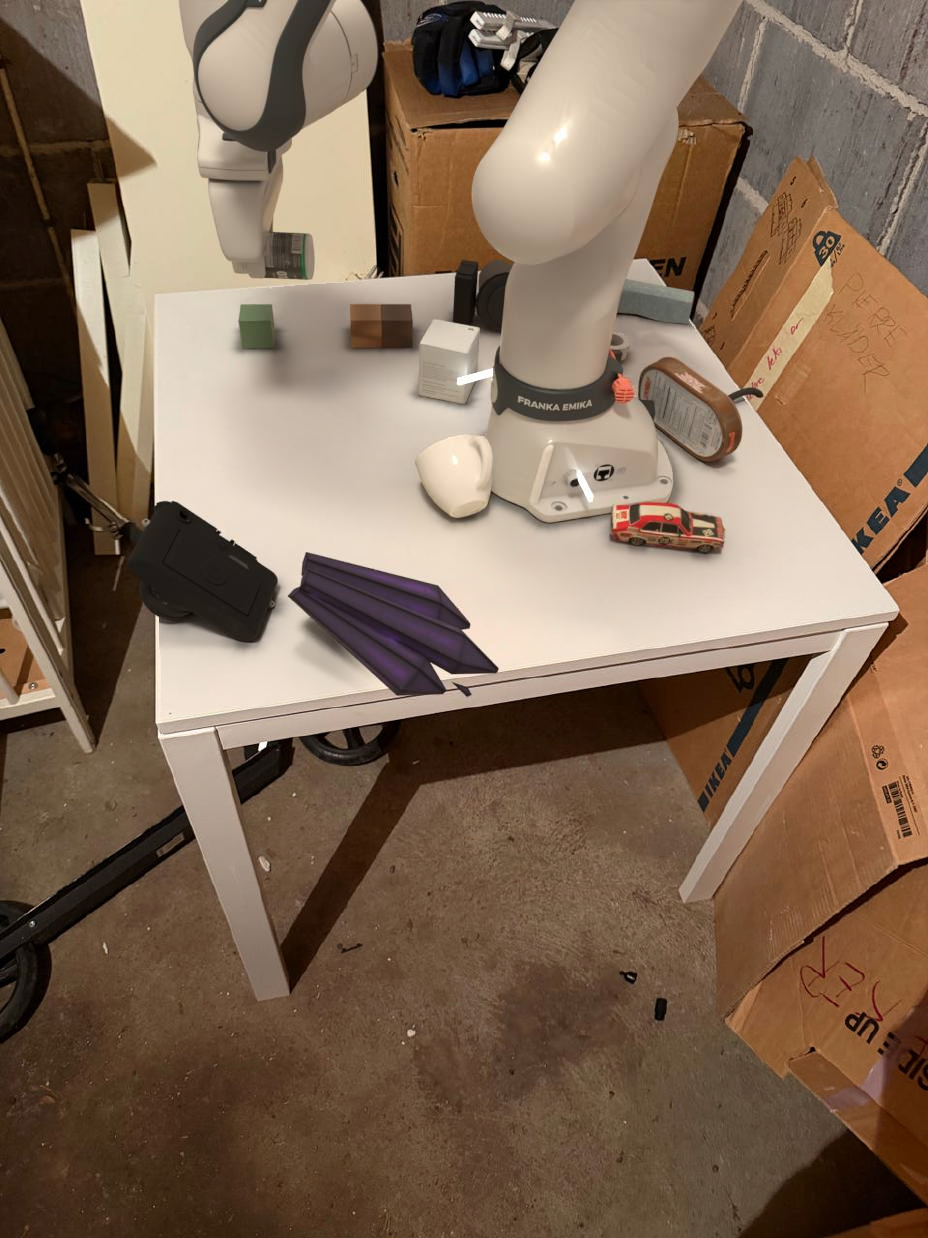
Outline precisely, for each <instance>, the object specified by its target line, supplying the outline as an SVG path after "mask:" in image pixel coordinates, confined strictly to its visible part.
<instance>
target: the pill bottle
mask: <svg viewBox="0 0 928 1238" xmlns="http://www.w3.org/2000/svg"><path fill="white" fill-rule="evenodd" d="M263 252H264V256H266V266H267V271H266V275H265V277H264V278H263V279H274V280H275V279H278V280H279V279H280V280H299V281H301V280H302V281H303V280H304V281H310V280H312V279H313V278H314V274H315V262H316V261H315V260H316V259H315V246H314V238H313V236H312V234H311V233H309V232H308V233H307V232H285V231H284V232H283V231H273V232H269V233H268V237H267V241H266V244H265V248H264V251H263ZM231 267H232V270H233V272H234V274H241V275H245V274H247V275H248V268H247V263H244V262H231Z"/></svg>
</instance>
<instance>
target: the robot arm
mask: <svg viewBox="0 0 928 1238" xmlns="http://www.w3.org/2000/svg"><path fill="white" fill-rule="evenodd" d="M743 1H744V0H574V1H573V3H572V5H571V6H570V9H569V10H568V11H567V14H566V16H565V17H564V20H563V21H562V23H561V25H560V26H559V28H558V30H557V31H556V33H555V35H554V37H553V38H552V40H551V41H550V43H549V45H548V46H547V49H546V50H545V52H544V54H543V55H542V57H541V59H540V61H539V62H538V64H537V66H536V68H535V69H534V71H533V73H532V75H531V76H530V78H529V81H528V82H527V84H526V86H525V88H524V90H523V91H522V93H521V95H520V98H519V99H518V101H517V103H516V105H515V106H514V109H513V110H512V112H511V114H510V116H509V117H508V119H507V121H506V123H505V125H504V126H503V128H502V130H501V131H500V133H499V134H498V136H497V137H496V139H495V140H494V141H493V143H492V144H491V146H490V147H489V149H488V150H486V153H485V154H484V156H483V157H482V159H481V160H480V161H479V163H478V165H477V167H476V170H475V172H474V175H473V179H472V183H471V205H472V211H473V215H474V218H475V221H476V224H477V226H478V228H479V230H480V232H481V234H482V235H483V238H485V240H486V242H487V243H488V244H489V245H490V246H491V247H492V248H493V249H494V250H495V251H496V252H497V253H498V254H500V255H502V256H503V257H504V258H506V259H508V260H510V261H512V262H513V264H512V265H511V266H512V268H511V271H510V273H509V276H508V279H507V283H506V287H505V298H504V309H503V320H502V331H501V332H500V341H499V342H500V344H499V346H498V347H497V349H496V351H495V355H494V363H493V366H492V368H490V369H485V370H483V371H478V372H477V373H475V374H472V375H468V376H464V377H461V378H458V385H461V384H465V383H468V382H472V381H475V382H476V381H479V380H483V379H486V378H490V377H491V381H490V402H491V405H492V406H491V410H490V414H489V418H488V423H487V427H486V430H485V433H484V435H483V436H484V437H485V438H486V439H487V440H488V442H489V444H490V446H491V449H492V454H493V465H492V487H491V492H492V493H493V494H495V495H496V496H498V497H500V498H502V499H503V500H505V501H508V502H510V503H512V504H515V505H517V506H520V507H522V508H524V509H526V511H528V512H529V513H530V514H531V515H532V516H533V517H535V518H536V519H538V520H539V521H541V522H544V523H557V522H564V521H569V520H575V519H576V520H577V519H581V518H587V517H588V518H589V517H593V516H594V517H595V516H599V515H605V514H606V515H607V514H611V510H612V505H633V504H635V503H644V502H661V503H668V501H669V499H670V498H671V495H672V491H673V487H674V486H673V485H674V473H673V468H672V464H671V463H672V462H671V460H670V458H669V457H670V456H669V455H668V452H667V451H666V449H665V447H664V445H663V444H662V442H661V441H660V439H659V438H658V432H657V429H656V428H657V427H656V426H655V425H654V423H653V422H654V418H655V414H656V413H655V405H654V401H653V400H641V399H639V398H638V397H637V396H635V393H636V392H635V389H634V387H633V386H632V381H631V380H630V379H629V378H627V377H624V376H623V375H624V368H623V365H622V364H621V361H620V362H619V361H617V360H616V358H615V355H614V353H613V352H612V350H611V348H610V344H611V339H612V334H613V331H614V329H615V324H616V319H617V314H618V313H617V310H618V305H619V301H620V297H621V294H622V290H623V287H624V284H625V281H626V279H628V275H629V272H630V269H631V267H632V264H633V262H634V258H635V256H636V253H637V251H638V248H639V245H640V242H641V239H642V238H643V237H642V236H643V235H644V234H643V233H644V231H645V228H646V224H647V222H648V219H649V216H650V214H651V213H650V212H651V209H652V206H653V203H654V200H655V197H656V195H657V194H656V193H657V191H658V188H659V184H660V182H661V179H662V176H663V174H664V172H665V169H666V167H667V165H668V162H669V160H670V158H671V157H672V154H673V151H674V149H675V147H676V143H677V141H678V135H679V128H680V127H679V126H680V125H679V123H680V122H679V112H678V107H679V105H680V104H681V102H682V100H683V99H684V97H685V96H686V95H687V94H688V93H689V90H691V88H692V86H693V85H694V84H695V82H696V80H697V79H698V78H699V76H700V75H701V74H702V73H703V71H705V69H706V68H707V66H708V65H709V63H710V61H711V60H712V57H713V55H714V54H715V52H716V50H717V49H718V46H719V44H720V43H721V41H722V39H723V37H724V35H725V34H726V32H727V30H728V28H729V26H730V24H731V23H732V21H733V19H734V17H735V15H736V14H737V12H738V10H739V8H740V7H741V5H742V3H743ZM178 7H179V14H180V20H181V27H182V34H183V39H184V43H185V47H186V48H187V51H188V53H189V56H190V59H191V61H192V62H191V63H192V70H193V79H192V94H193V99H194V105H195V106H194V107H195V113H196V124H197V130H198V143H197V156H196V161H197V167H198V173H199V175H200V177H201V178H203V179H207V188H208V196H209V203H210V208H211V212H212V217H213V221H214V226H215V230H216V234H217V238H218V239H217V240H218V243H219V247H220V249H221V252H222V254H223V256H224V258H225V260H227V262H231V263H232V262H244V263H247V268H248V274H247V275H248V276H249V278H251V279H260V280H261V279H265V278H264V277H265V275H266V271H267V266H266V256H264V252H263V251H264V248H265V244H266V241H267V237H268V233H269V232H274V215H275V211H276V208H277V204H278V201H279V197H280V193H281V190H282V187H283V183H284V162H283V155H284V154H286V153H287V152H288V151H290V149H291V148H292V146H293V138H294V137H295V136H297V135H298V134H299V133H300V132H301V131H302V130H304V129H306V128H307V127H309V126H311V125H312V124H315V123H316V122H317V121H319V120H321V119H323V118H325V117H326V116H328V115H330V114H332V113H333V112H335V111H336V110H337V109H339V108H341V107H342V106H344V105H346V104H347V103H349V102H351V101H352V100H354V99H355V98H357V97H358V96H359V95H360V94H361V93H363V92H364V91H366V90H367V89H368V87H369V86H370V85H371V84H372V82H373V80H374V78H375V76H376V72H377V70H378V64H379V41H378V40H379V39H378V35H377V29H376V27H375V23H374V20H373V19H372V15H371V14H370V12H369V10H368V8H367V6H366V5H365V3H364V2H363V1H362V0H178ZM727 395H728V396H729V397H730V399H731V400H732V401H733V402H734V401H735V400H737V399H740V398H742V397H744V396H755V398H758V399H763V398H764V396H765V395H764V393H763V392H762V390H761V389H759V388H757V387H752V386H750V387H744V388H741V389H738V390H736V391H734V392H731V393H730V394H727Z"/></svg>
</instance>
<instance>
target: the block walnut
mask: <svg viewBox="0 0 928 1238" xmlns="http://www.w3.org/2000/svg"><path fill="white" fill-rule="evenodd" d="M380 304H381V320H382V348H383V349H384V348H385V349H386V348H387V349H388V348H389V349H393V348H395V349H397V348H400V349H401V348H406V349H407V348H410V349H411V348H413V345H414V344H413V342H414V341H413V339H414V338H413V337H414V330H413V329H414V320H413V319H414V318H413V309H412V307H413V306H412V304H411V303H380ZM382 348H381V349H382Z"/></svg>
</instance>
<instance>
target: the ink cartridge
mask: <svg viewBox="0 0 928 1238" xmlns="http://www.w3.org/2000/svg"><path fill="white" fill-rule="evenodd" d="M478 280H479V261H474V260H469V259H468V260H467V259H461V261H460V263H459V265H458V268H457V270H456V272H455V275H454V286H453V288H454V289H453V308H452V309H453V311H452V323H458V324H463V325H468V326H473V322H474V319H475V316H476V306H475V304H476V296H477V294H478Z"/></svg>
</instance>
